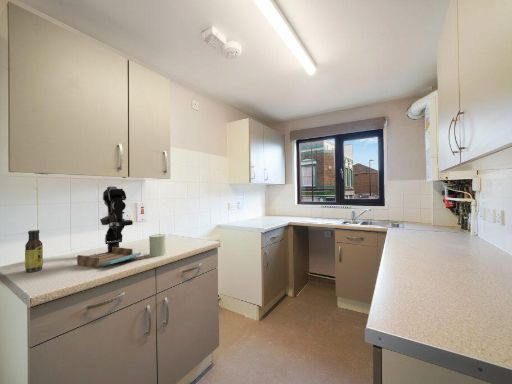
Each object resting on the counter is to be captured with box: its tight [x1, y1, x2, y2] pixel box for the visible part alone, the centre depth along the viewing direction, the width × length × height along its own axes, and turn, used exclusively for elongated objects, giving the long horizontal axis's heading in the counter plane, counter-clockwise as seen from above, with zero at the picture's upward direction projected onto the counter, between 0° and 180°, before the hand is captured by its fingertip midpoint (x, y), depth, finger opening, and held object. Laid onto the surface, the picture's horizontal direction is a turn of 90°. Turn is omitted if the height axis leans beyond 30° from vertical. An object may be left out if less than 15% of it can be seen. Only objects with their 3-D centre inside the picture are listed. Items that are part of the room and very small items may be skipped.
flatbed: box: [76, 246, 134, 269], centre depth 126 cm, size 16×20×5 cm
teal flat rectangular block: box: [100, 252, 142, 267], centre depth 122 cm, size 2×17×8 cm
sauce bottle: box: [24, 229, 44, 273], centre depth 113 cm, size 6×6×20 cm
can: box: [148, 233, 167, 257], centre depth 138 cm, size 9×9×12 cm
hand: (117, 237), depth 132 cm, fingers closed
